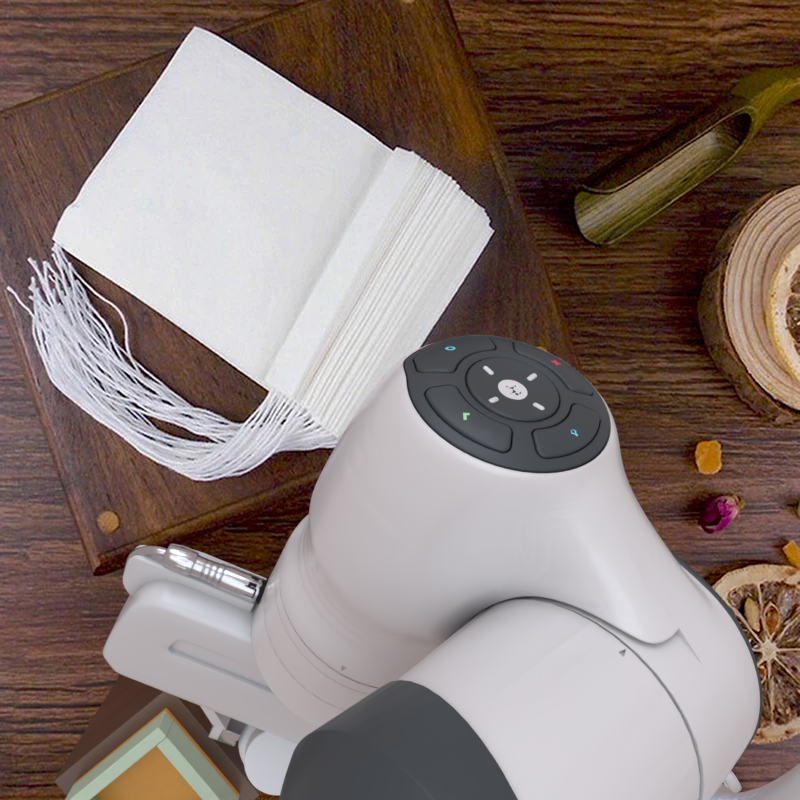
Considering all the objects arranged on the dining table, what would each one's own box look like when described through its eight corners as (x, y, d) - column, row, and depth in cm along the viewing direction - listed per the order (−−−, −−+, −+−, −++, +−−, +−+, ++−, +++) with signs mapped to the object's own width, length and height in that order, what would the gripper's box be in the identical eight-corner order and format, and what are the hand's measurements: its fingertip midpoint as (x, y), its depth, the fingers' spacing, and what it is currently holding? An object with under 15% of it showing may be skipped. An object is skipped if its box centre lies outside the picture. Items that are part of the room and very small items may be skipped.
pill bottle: (312, 754, 57) (313, 812, 50) (236, 741, 57) (226, 798, 49) (327, 680, 57) (331, 726, 50) (252, 666, 57) (244, 711, 49)
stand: (272, 674, 88) (260, 795, 62) (192, 740, 88) (146, 889, 62) (208, 597, 88) (168, 686, 62) (127, 662, 87) (53, 780, 61)
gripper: (103, 591, 40) (64, 731, 49) (559, 775, 42) (437, 875, 51) (163, 478, 45) (117, 627, 54) (573, 649, 46) (458, 763, 56)
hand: (276, 749), depth 53 cm, fingers closed on pill bottle, 4 cm apart
